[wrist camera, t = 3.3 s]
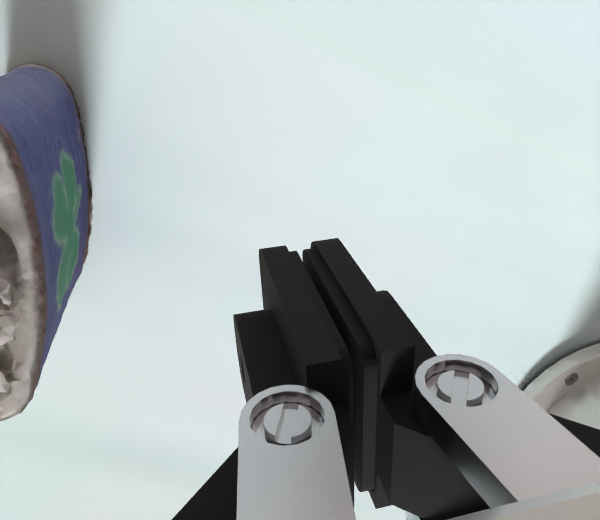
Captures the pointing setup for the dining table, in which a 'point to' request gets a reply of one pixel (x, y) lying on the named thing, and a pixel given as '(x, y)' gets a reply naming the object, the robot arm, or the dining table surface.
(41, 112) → the blue green-marked block
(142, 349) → the dining table surface
